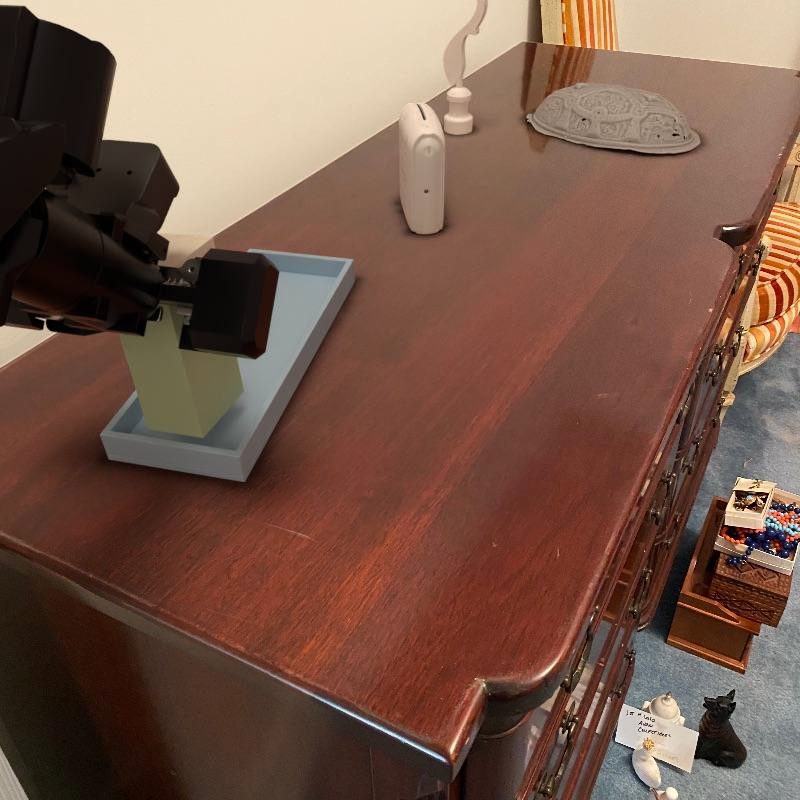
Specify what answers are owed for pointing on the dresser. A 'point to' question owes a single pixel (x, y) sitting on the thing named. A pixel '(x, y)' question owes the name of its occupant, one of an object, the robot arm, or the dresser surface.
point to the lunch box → (180, 364)
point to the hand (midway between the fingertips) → (187, 319)
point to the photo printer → (422, 168)
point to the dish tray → (248, 378)
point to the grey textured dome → (614, 119)
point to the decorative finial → (460, 75)
